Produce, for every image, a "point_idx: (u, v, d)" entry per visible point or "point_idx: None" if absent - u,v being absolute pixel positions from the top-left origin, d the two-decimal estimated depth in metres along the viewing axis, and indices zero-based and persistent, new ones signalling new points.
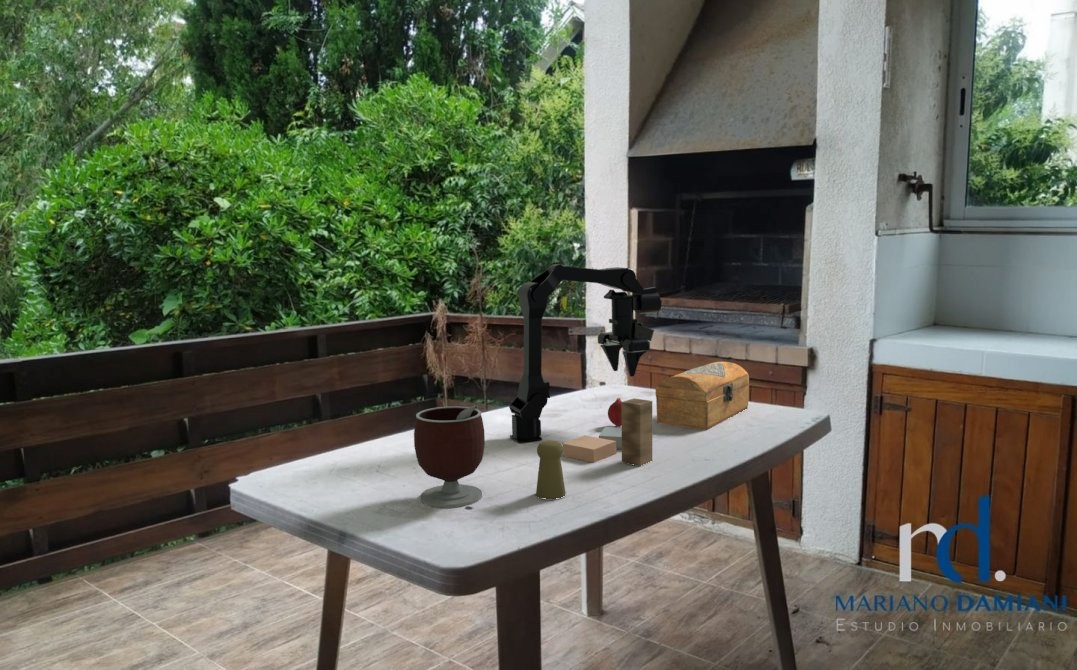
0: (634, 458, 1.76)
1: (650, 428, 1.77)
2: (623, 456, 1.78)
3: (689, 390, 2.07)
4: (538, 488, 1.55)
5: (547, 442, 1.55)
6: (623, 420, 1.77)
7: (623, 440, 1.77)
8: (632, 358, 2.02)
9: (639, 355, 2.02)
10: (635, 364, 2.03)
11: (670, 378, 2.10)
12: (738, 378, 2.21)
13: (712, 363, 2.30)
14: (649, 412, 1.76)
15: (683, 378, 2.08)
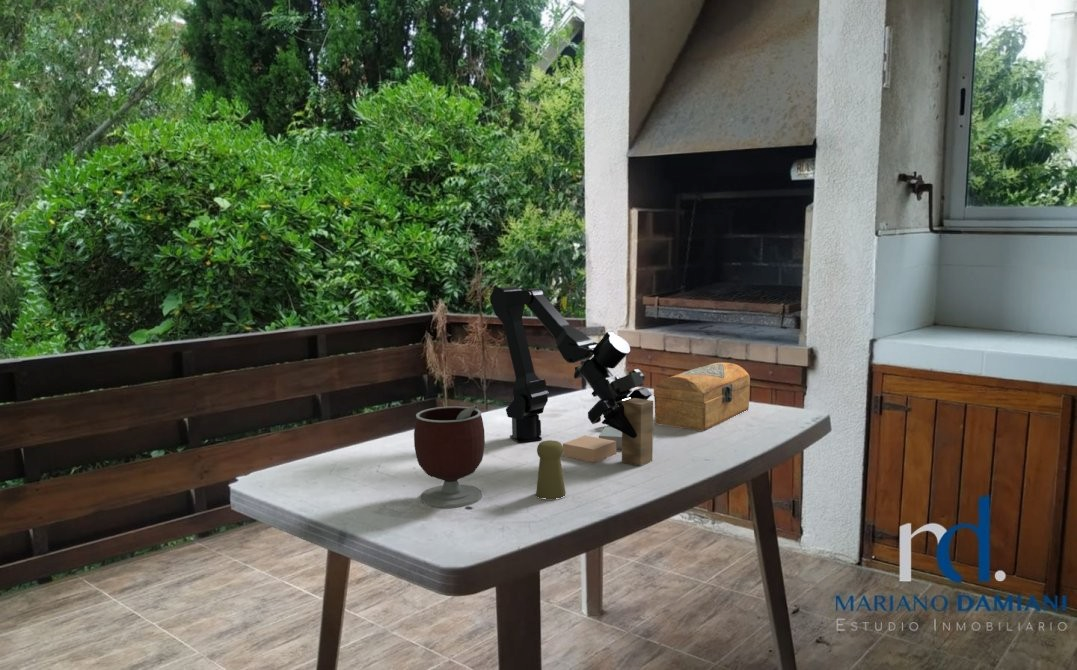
0: (634, 458, 1.76)
1: (651, 428, 1.77)
2: (623, 455, 1.78)
3: (687, 391, 2.06)
4: (538, 488, 1.55)
5: (547, 442, 1.55)
6: None
7: (623, 440, 1.77)
8: (618, 421, 1.76)
9: (618, 415, 1.75)
10: (625, 425, 1.75)
11: (668, 379, 2.09)
12: (738, 379, 2.20)
13: (713, 364, 2.28)
14: (650, 412, 1.76)
15: (681, 379, 2.07)
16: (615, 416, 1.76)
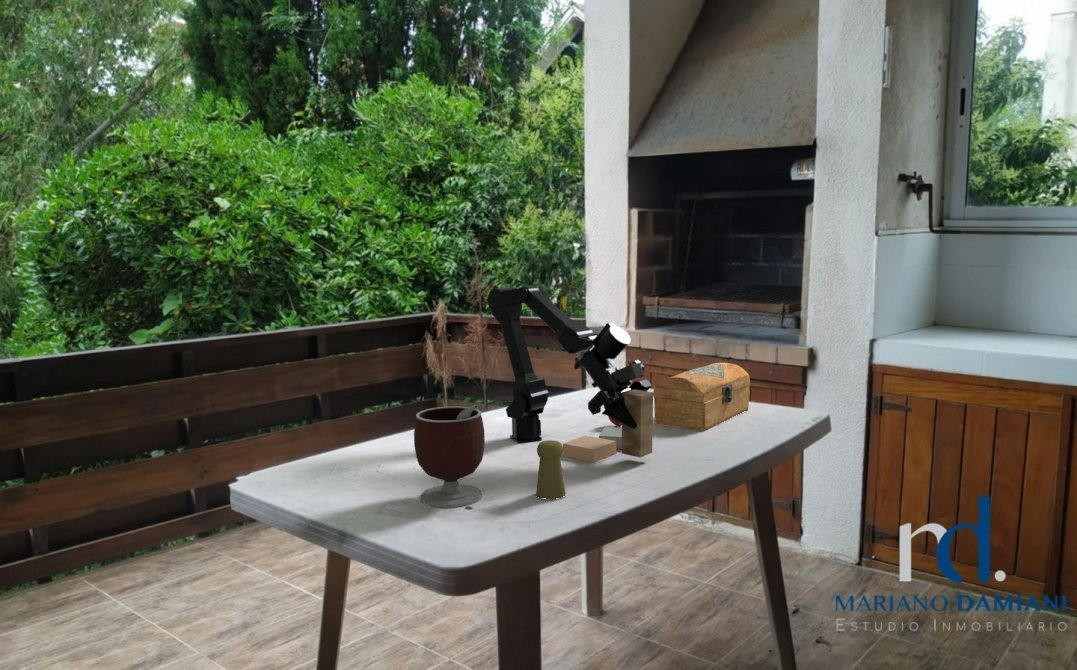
0: (634, 450, 1.76)
1: (650, 419, 1.77)
2: (623, 447, 1.77)
3: (686, 391, 2.06)
4: (538, 488, 1.55)
5: (547, 442, 1.55)
6: None
7: (623, 431, 1.77)
8: (618, 412, 1.76)
9: (619, 406, 1.74)
10: (625, 416, 1.74)
11: (668, 379, 2.09)
12: (738, 379, 2.20)
13: (712, 364, 2.28)
14: (650, 403, 1.76)
15: (681, 379, 2.06)
16: (615, 407, 1.76)
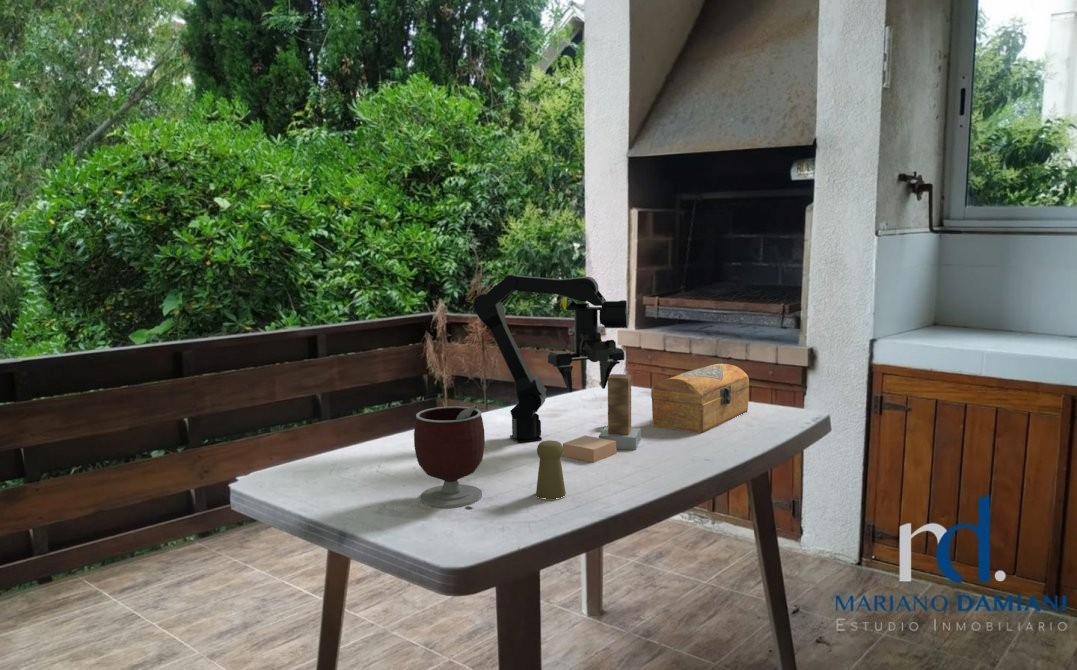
0: (621, 429, 1.90)
1: (630, 399, 1.93)
2: (609, 428, 1.91)
3: (684, 393, 2.04)
4: (538, 488, 1.55)
5: (547, 442, 1.55)
6: (609, 394, 1.90)
7: (609, 413, 1.91)
8: (564, 372, 1.93)
9: (565, 370, 1.91)
10: (566, 379, 1.92)
11: (665, 380, 2.07)
12: (737, 380, 2.18)
13: (711, 365, 2.26)
14: (630, 385, 1.92)
15: (678, 380, 2.05)
16: None
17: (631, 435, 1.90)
